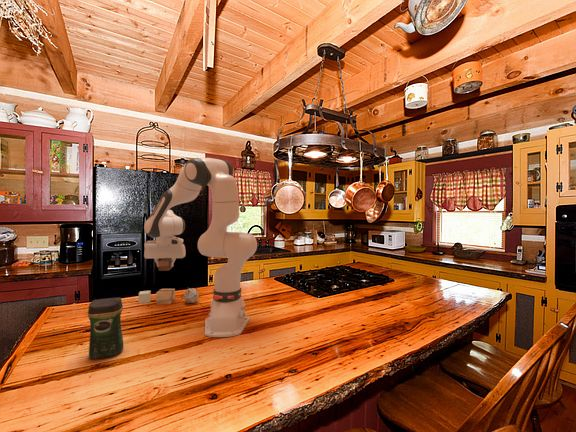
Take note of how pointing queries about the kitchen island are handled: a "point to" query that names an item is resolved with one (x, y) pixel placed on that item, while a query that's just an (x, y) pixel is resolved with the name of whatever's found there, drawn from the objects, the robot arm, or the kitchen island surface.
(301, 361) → the kitchen island surface
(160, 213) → the robot arm
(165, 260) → the walnut block
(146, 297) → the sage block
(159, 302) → the oak base block
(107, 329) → the coffee jar
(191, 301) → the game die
